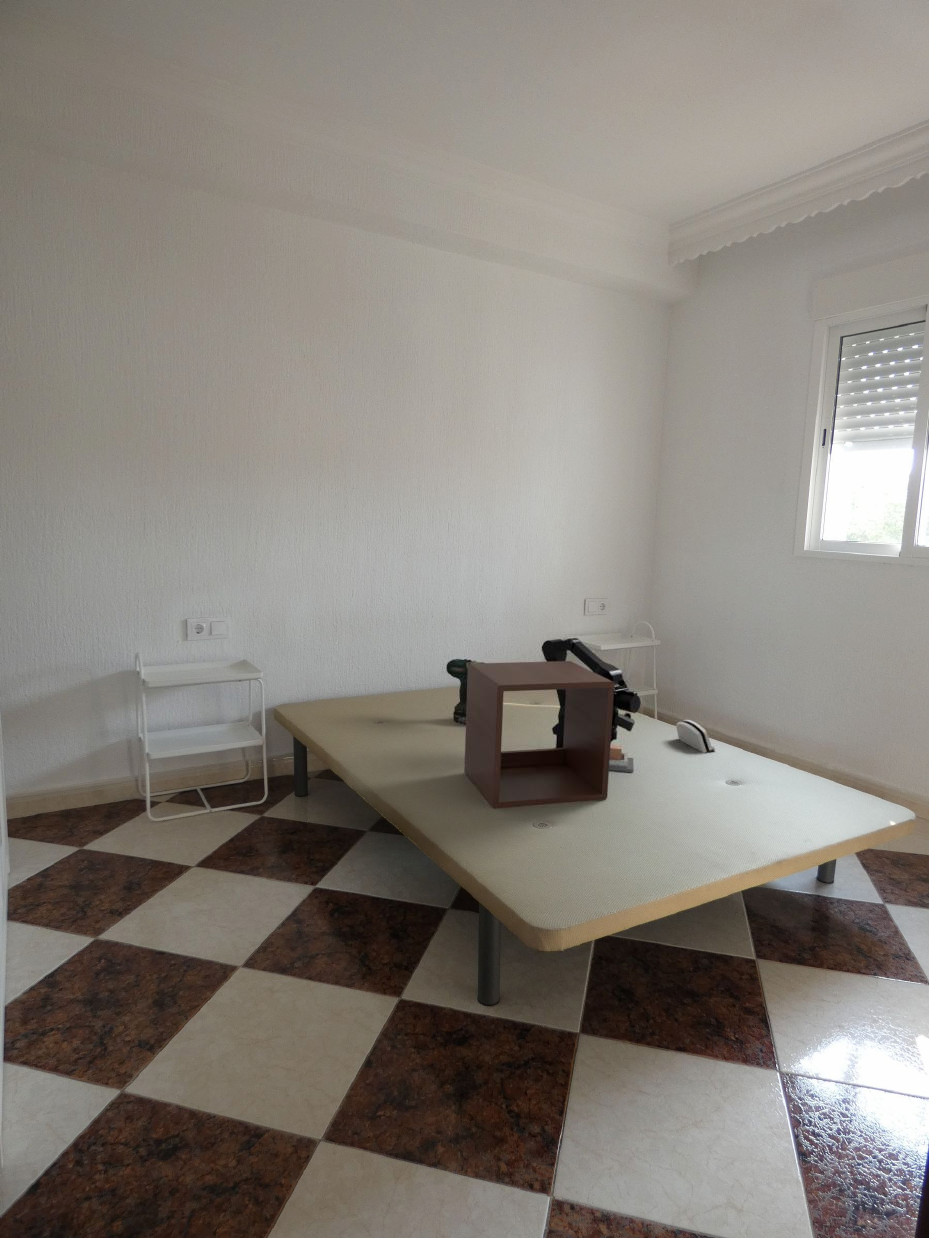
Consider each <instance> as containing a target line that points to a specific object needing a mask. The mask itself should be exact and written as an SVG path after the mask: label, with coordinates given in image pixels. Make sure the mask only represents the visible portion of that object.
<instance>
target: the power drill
mask: <svg viewBox="0 0 929 1238" xmlns="http://www.w3.org/2000/svg"><path fill="white" fill-rule="evenodd" d="M474 663H484V662H483V661H476V660H471V659H467V658H465V659H461V658H455V659H451V660H449V661H448V662H447V664H446V667H445V668H446V672H447V674H449V675H450V676H451V677H453V678H455V679H458V680H459V682H460V685H459V691H458V692H459V702H458V703H457V704H456V705H455V706H454V709H453V714H452V715H453V721H454V722H456V723H458V722H460V723H459V724H462V723H464V724H463V725H466V707H467V678H468V665H469V664H474ZM446 707H447V709H448V708H449V707H448V706H446Z"/></svg>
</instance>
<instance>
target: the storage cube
mask: <svg viewBox="0 0 929 1238" xmlns="http://www.w3.org/2000/svg"><path fill="white" fill-rule="evenodd" d="M614 687H615V686H614V682H612V681H610V680H608V679H606V678H604V677H602V676H600V675H598V674H596V673H594V672H593V671H592V670H591V669H590V670H589V668H586V667H584V666H581V665H579V664H577V663H576V662H573V661H572V660H566V661H553V662H547V661H525V662H524V661H523V662H516V661H515V662H514V661H513V662H483V663H474V664H469V665H468V678H467V707H466V724H465V740H464V741H465V742H464V767H463V768H464V770H463V771H464V773H465V774H466V776H467V777H468V778H469V779H470V781H471V782H472V783H473V784H474V785H475V787H476V788H477V789H478V790H479V791H480V793H481V794H482V795H483V796H484V798H485V799H486V800H487V802H488V803H489V804H490V806H492V807H493V809H496V810H497V809H505V808H518V807H531V806H542V805H543V806H544V805H556V804H558V805H559V804H566V803H567V804H569V803H581V802H592V801H605V800H607V799H608V794H609V793H608V790H609V775H610V774H609V773H610V770H609V761H610V745H612V742H611V729H612V713H613V697H614ZM557 689H566V702H565V720H564V739H563V748H556V747H555V748H536V749H535V748H534V749H521V750H520V749H519V750H506V751H504V750H502V742H503V741H502V739H503V712H504V692H523V691H528V692H529V691H551V690H553V691H554V690H557Z"/></svg>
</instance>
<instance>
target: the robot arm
mask: <svg viewBox="0 0 929 1238" xmlns="http://www.w3.org/2000/svg"><path fill="white" fill-rule="evenodd" d="M568 651H569V652H570V653H572V655H573V656H575V657H576V658H577V659H578V660H580V661H581V662H582V664H584V665H585V666H586V667H587V669H590V671H592V672H594V673H596V674H598V675H600V676H602V677H604V678H606V679H608V680H610V681H612V682H614V697H613V713H612V729H611V743H612V742H613V741H616V740H617V738H618V727H620V728H622V729H625V730H626V731H628V732H630V733H631V732H632V731H633V730H632V729H633V727H634V725H635V720H634V718H632V714H637V712H638V711H639V710H640V708H641V705H642V703H641V702H642V701H641V698H640V697H639V695H638V691H635V690H630V689H629V687H628V684H627V682H626V680H625V678H624V677H623V671H622V670H621V669H620V668H618V667H617V666H614V664H611V663H608V662H605V661H604V660H602V659H601V658H600V657H599V656H597V654H595V652H593V651H592V650H591V649H590V648H588V647H587V646H586V645H585V644H584V643H583V642H582V641H581V640H580V639H579V638H578V637H573V638H567V639H561V638H557V639H555V638H554V639H548V640H545V641H544V642H543V643H542V645H541V652H542V654H543V658H544V660H545V662H553V661H567V656H568ZM556 694H557V699H558V704H559V710H558V714H557V721H558V722H557V723H556V724H555V725H554V726H553V727H552V728H551V730H552V734H553V735H555V736H556V739H555V741H556V742H555V748H563V739H564V720H565V702H566V689H557V690H556ZM619 710H621V711H624V712H625V713H619Z"/></svg>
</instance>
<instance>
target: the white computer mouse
mask: <svg viewBox="0 0 929 1238" xmlns="http://www.w3.org/2000/svg"><path fill="white" fill-rule="evenodd" d="M675 726H676V731H677V737H678V740H680V741H681V742H683V743H685V744H686V745H688V744H689V745H688V746H690V745H691V747H692V746H693V747H692V748H694V747H695V748H694V749H696V750H697V749H698V751H699V752H702V753H703V754H705V753H708V751H712V752H714V753H716V748H715V747H714V746H713V745H712V744H711V741H710V737H709V734H708V731H706V729H705V728H704V727H703V726H702V725H700V724H698V723H697V722H695V721H693V720H691V719H684V720H681V721H679V722H677V723H676V725H675Z"/></svg>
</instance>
